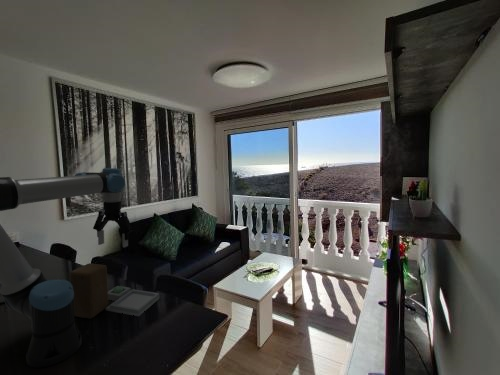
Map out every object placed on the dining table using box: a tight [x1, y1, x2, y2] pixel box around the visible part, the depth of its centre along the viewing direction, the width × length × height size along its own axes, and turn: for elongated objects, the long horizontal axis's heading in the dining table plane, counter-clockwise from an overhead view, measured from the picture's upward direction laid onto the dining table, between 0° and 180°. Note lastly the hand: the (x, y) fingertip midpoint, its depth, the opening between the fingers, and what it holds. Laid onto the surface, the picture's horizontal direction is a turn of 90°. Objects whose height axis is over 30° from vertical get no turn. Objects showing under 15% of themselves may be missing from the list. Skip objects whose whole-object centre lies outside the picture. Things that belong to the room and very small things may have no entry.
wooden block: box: [69, 263, 109, 320], centre depth 109 cm, size 10×10×20 cm
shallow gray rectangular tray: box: [105, 288, 160, 317], centre depth 116 cm, size 15×17×3 cm
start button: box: [113, 285, 124, 294], centre depth 123 cm, size 4×4×3 cm
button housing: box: [108, 285, 132, 302], centre depth 123 cm, size 8×8×3 cm
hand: (113, 245), depth 119 cm, fingers open, 13 cm apart
